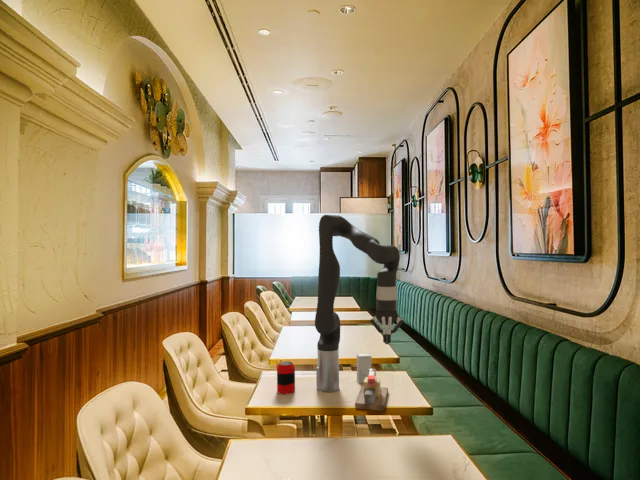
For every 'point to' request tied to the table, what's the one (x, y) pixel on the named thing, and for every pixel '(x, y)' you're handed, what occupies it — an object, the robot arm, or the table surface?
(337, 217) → the robot arm
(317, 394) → the table surface
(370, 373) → the valve lever
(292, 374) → the soda can
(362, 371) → the skincare box
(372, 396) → the valve stand
